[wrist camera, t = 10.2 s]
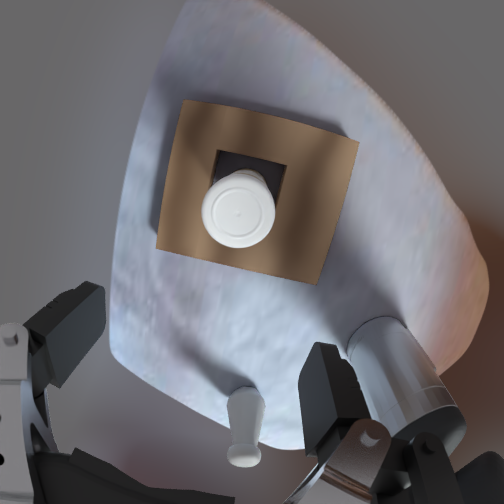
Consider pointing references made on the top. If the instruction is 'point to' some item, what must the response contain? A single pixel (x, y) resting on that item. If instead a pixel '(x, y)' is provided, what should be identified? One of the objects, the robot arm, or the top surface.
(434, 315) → the top surface
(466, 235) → the top surface
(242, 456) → the salt shaker
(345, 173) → the holder board
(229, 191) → the sprinkles bottle
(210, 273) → the top surface
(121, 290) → the top surface
